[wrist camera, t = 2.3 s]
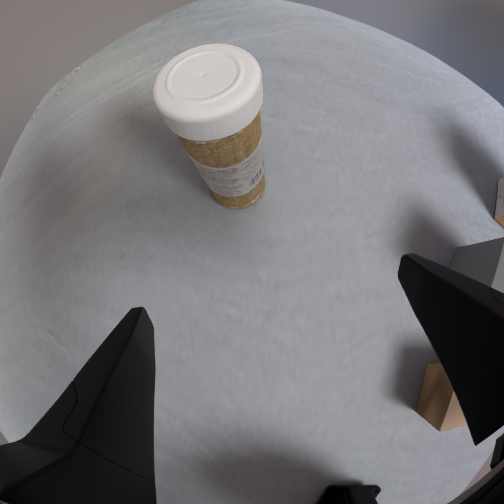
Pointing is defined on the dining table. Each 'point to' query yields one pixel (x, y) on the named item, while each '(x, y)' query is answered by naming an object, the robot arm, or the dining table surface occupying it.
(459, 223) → the dining table surface
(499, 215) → the small box
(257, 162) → the sprinkles bottle
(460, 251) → the gray block
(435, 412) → the walnut cube
